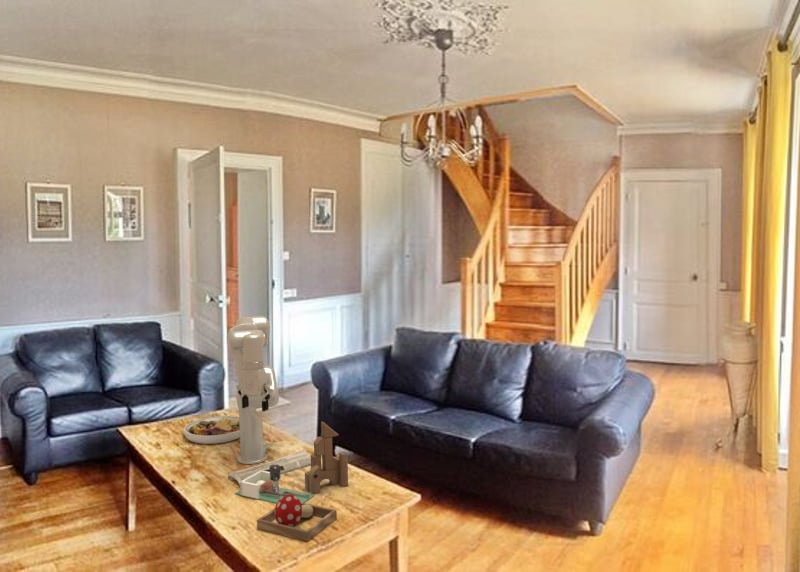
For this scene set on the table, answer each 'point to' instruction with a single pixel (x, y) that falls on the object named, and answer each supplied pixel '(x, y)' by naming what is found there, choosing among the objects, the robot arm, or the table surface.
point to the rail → (286, 493)
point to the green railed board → (278, 499)
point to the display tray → (297, 533)
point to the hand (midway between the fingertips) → (255, 408)
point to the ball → (260, 484)
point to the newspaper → (286, 464)
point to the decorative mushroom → (291, 510)
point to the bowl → (213, 430)
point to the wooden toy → (326, 463)
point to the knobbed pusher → (273, 482)
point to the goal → (253, 484)
